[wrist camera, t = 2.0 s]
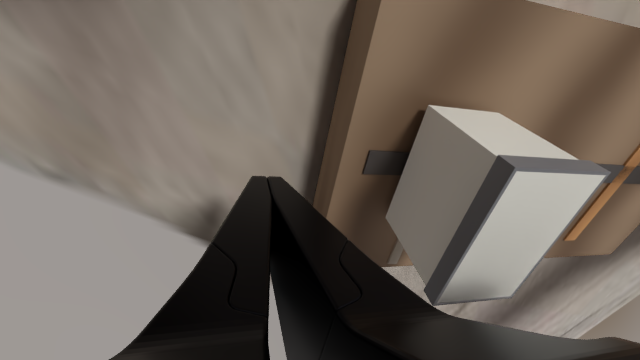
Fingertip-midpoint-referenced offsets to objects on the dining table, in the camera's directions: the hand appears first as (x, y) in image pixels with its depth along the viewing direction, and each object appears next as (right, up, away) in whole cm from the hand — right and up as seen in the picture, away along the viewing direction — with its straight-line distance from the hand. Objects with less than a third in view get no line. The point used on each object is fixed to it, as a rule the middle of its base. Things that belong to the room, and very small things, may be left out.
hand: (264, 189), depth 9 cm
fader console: (+12, +2, +7) cm, 14 cm away
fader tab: (+6, +1, +3) cm, 7 cm away
